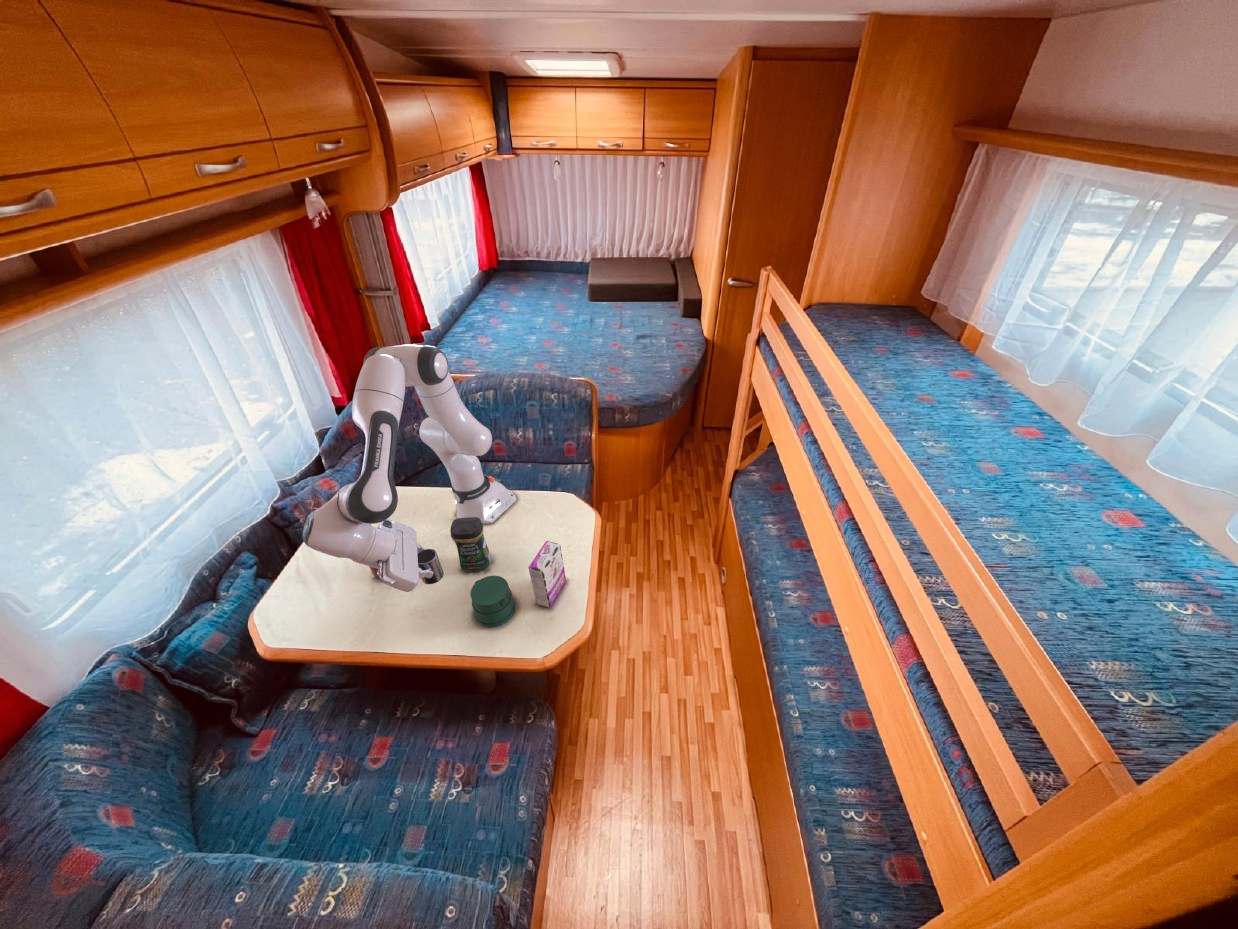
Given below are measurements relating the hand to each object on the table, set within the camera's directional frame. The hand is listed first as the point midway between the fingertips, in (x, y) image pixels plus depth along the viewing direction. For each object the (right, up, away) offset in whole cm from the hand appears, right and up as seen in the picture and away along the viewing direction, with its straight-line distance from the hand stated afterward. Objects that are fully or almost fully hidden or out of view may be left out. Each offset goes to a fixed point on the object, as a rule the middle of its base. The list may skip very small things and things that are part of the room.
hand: (431, 564), depth 121 cm
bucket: (+12, -17, +18) cm, 27 cm away
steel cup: (0, -4, +2) cm, 4 cm away
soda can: (-27, -9, +31) cm, 42 cm away
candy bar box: (+28, -13, +22) cm, 38 cm away
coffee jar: (+2, -7, +33) cm, 33 cm away
